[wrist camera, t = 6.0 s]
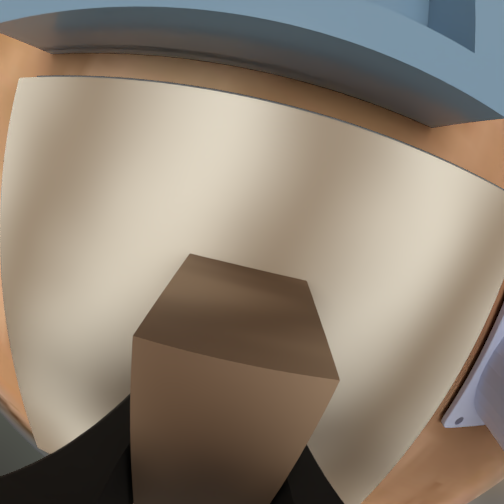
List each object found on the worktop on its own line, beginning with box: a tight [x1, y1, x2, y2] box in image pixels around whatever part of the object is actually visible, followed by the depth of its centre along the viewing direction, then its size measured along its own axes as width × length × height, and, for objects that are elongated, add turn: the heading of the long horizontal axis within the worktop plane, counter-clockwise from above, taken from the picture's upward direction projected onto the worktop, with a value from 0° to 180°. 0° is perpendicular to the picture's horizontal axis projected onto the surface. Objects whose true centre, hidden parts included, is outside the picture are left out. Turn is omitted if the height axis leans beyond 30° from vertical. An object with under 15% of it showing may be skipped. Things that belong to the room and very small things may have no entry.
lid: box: [0, 77, 504, 504], centre depth 8 cm, size 16×16×5 cm
